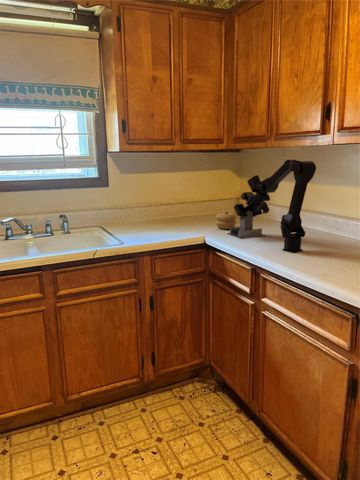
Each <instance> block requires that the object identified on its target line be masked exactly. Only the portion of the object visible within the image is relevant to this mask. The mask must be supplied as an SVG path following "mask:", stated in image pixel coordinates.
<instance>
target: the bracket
mask: <svg viewBox="0 0 360 480" xmlns="http://www.w3.org/2000/svg"><path fill="white" fill-rule="evenodd" d="M239 230H240V226H234V227H233V228H230V229H229V232H227V235H229V236H232V237H235V238H237V239H241V240H244V239H250V238H258V237H265V236H266V235H265V234H264V233H263V229H262V227H261V228H254V226H253V227H252V229H251V230H242V231H239Z"/></svg>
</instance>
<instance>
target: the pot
mask: <svg viewBox="0 0 360 480" xmlns="http://www.w3.org/2000/svg"><path fill="white" fill-rule="evenodd" d="M215 219H216V220H215V225H216V227H217V228H219V229H222V230H230V228H235V227H236V225H237V221H236V220H237V216H236V214H235V213H234V212H228V211H227V210H225V211H224V212H223V211H221V212H218V213H217V214H216V215H215Z"/></svg>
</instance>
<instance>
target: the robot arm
mask: <svg viewBox="0 0 360 480" xmlns="http://www.w3.org/2000/svg"><path fill="white" fill-rule="evenodd" d="M316 171H317V166H316V163H315V162H314V161H312V160H303V161H302V160H298V159H286V160H285V161H284V163H283V164H282V165H281V166H280V167H278V169H276V171H275V172H274V173H273V174H272V175H271V176H269V177H266V178H265V179H263V180H261V178H260V176H259V175H258V174H257V175H256V174H255V175H254V176H252V177H250V178H249V179H248V180H247V182H246V183H247V185H248V186H249V189H250V190H251V191H245V192H242V193H241V195H240V199H242V200H244V201H245V205H244V204H243V203H235V204H234V206H233V210H234V211H235V213H236V215H237V216H238V217H239V220H240V219H243V218H245V217H246V216H248V215H247V213H248V212H250V211H251V212H253V218H255V217H258V216H260V215H262V214H268V213H269V212H270V207H269V205H268V203H267V202H269V201H271V197H270V195H269V193H272V194H273V193H275V192H276V191H277V190H278V188H279V185H280V183H281V182H282V181H283V180H284V179H285V178H287V177H288V175H290V174H291V173H293V174H292V175H293V177H294V178H293V179H294V181H295V182H294V187H293V191H292V194H291V195H292V196H291V199H290V204H289V207H288V212H287V214H282V216H281V220H280V221H281V222H280V230H281V236H282V238H284V240H283V241H284V243H283V248H282V249H281V250H282V251H284V252H285V251H286V252H289V253H293V254H295V253H299V252H303V251H304V250H303V249H302V238H304V237H305V235H306V231H305V229H304V228H303V226H302V222H303V221H302V217H301V211H302V208H303V204H304V199H305V195H306V191H307V188H308V184H309V183H310V182H311V180H312V179H313V178H314V176H315V173H316ZM254 193H255V194H254ZM244 206H246V207H244Z"/></svg>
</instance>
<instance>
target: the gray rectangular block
mask: <svg viewBox="0 0 360 480" xmlns="http://www.w3.org/2000/svg"><path fill="white" fill-rule="evenodd" d="M243 206H244V207H246V206H247V205H243ZM247 215H248V216H246V217H245V218H243V219H240V218H239V227H240V230H239V231H242V230H251V229H252V227H253V228H254V226H253V222H254V217H253V212H251V211H250V212H248V213H247Z"/></svg>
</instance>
